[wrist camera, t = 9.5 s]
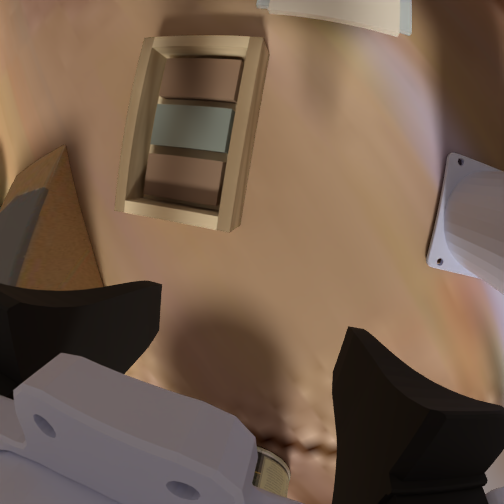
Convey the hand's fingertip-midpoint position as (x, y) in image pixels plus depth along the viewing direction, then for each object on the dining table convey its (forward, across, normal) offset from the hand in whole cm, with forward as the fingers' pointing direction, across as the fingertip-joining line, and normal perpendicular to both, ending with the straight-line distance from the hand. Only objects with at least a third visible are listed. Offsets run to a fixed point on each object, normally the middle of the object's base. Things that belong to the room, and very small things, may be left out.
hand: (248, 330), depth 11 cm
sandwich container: (+11, +20, +2) cm, 23 cm away
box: (+10, +7, -8) cm, 15 cm away
